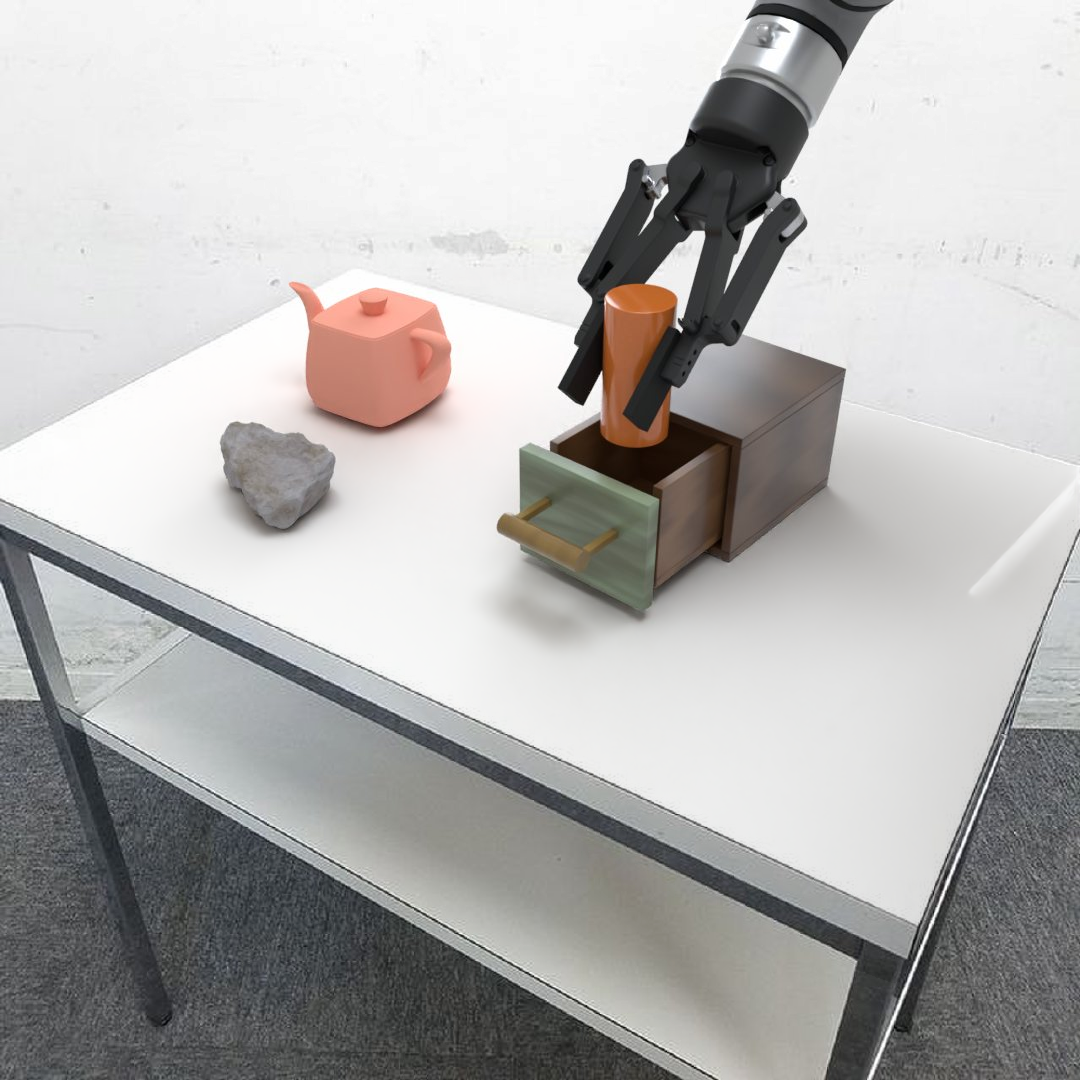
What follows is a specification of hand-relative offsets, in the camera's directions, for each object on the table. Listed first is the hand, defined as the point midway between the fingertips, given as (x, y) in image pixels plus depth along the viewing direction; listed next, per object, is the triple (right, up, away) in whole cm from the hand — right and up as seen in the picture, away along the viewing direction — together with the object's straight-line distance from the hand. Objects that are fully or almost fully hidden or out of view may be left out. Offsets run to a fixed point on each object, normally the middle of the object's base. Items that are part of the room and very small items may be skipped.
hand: (602, 409), depth 79 cm
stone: (-25, -6, +17) cm, 31 cm away
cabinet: (+10, -5, +17) cm, 21 cm away
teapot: (-19, +4, +31) cm, 37 cm away
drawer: (+2, -10, +9) cm, 13 cm away
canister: (+2, -1, +4) cm, 5 cm away
